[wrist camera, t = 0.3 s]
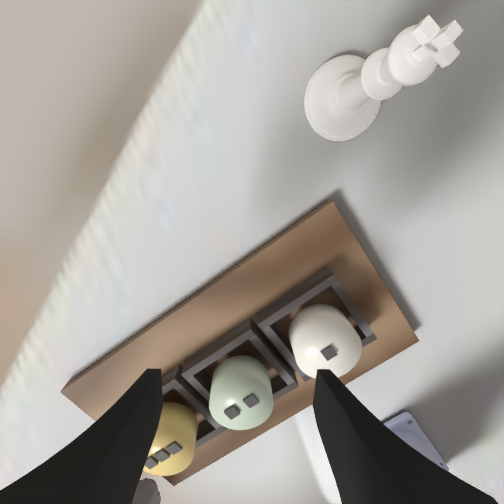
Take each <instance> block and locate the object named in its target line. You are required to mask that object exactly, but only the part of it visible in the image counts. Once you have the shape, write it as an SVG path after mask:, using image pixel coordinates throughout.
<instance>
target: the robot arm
mask: <svg viewBox="0 0 504 504" xmlns="http://www.w3.org/2000/svg"><path fill="white" fill-rule="evenodd" d="M162 408H163V392H162V376H161V369H149V368H147V369H146V370H145V371H144V372H143V373H142V375H141V376H140V377H139V378H138V379H137V380H136V381H135V382H134V383H133V385H132V386H131V387H130V388H129V389H128V390H127V391H126V392H125V393H124V394H123V395H122V396H121V397H120V398H119V399H118V400H117V401H116V402H115V403H114V404H113V405H112V406H111V407H110V408H109V409H108V410H107V411H106V412H105V413H104V414H103V415H102V416H101V417H100V418H99V419H98V420H97V421H96V422H95V423H93V424H92V425H91V426H90V427H89V428H88V429H87V430H86V431H84V432H83V433H82V434H81V435H80V436H78V437H77V438H76V439H75V440H74V441H72V442H71V443H70V444H68V445H67V446H66V447H64V448H63V449H62V450H60V451H59V452H58V453H56V454H55V455H53V456H52V457H51V458H49V459H48V460H47V461H45V462H44V463H42V464H41V465H39V466H38V467H37V468H35V469H34V470H32V471H31V472H29V473H28V474H26V475H24V476H23V477H21V478H20V479H18V480H17V481H15V482H13V483H12V484H10V485H9V486H7V487H5V488H4V489H2V490H0V504H132V501H133V498H134V495H135V491H136V488H137V485H138V482H139V479H140V477H141V474H142V471H143V468H144V466H145V463H146V460H147V457H148V454H149V452H150V449H151V446H152V443H153V440H154V438H155V435H156V432H157V429H158V425H159V421H160V417H161V412H162ZM313 408H314V413H315V418H316V422H317V427H318V430H319V433H320V436H321V439H322V442H323V445H324V448H325V451H326V454H327V457H328V460H329V463H330V466H331V469H332V472H333V475H334V477H335V480H336V484H337V487H338V490H339V494H340V497H341V501H342V504H498V503H497V502H496V500H495V499H494V498H493V497H491V496H489V495H488V494H486V493H484V492H482V491H480V490H479V489H477V488H475V487H473V486H471V485H470V484H468V483H466V482H464V481H463V480H461V479H459V478H458V477H456V476H454V475H453V474H451V473H450V472H448V470H449V468H448V466H447V465H446V463H445V462H444V461H443V459H442V458H441V456H440V455H439V453H438V452H437V451H436V449H435V448H434V446H433V445H432V444H431V442H430V441H429V439H428V438H427V436H426V435H425V434H424V432H423V431H422V429H421V428H420V426H419V425H418V424H417V422H416V421H415V419H414V418H413V417H412V415H411V414H410V413H409V412H403V413H401V414H400V415H398V416H396V417H394V418H392V419H391V420H389V421H387V422H385V423H382V422H381V421H380V420H378V419H377V418H376V417H375V416H374V415H373V414H372V413H371V412H370V411H369V410H368V409H367V408H366V407H365V406H364V405H363V404H362V403H361V402H360V401H359V400H358V399H357V398H356V397H355V396H354V395H353V394H352V393H351V392H350V391H349V390H348V388H347V387H346V386H345V385H344V384H343V383H342V382H341V381H340V380H339V379H338V377H337V376H336V375H335V374H334V373H333V372H332V371H331V370H330V369H317V374H316V382H315V390H314V398H313Z"/></svg>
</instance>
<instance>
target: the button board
mask: <svg viewBox="0 0 504 504" xmlns="http://www.w3.org/2000/svg"><path fill="white" fill-rule="evenodd" d="M315 304H328V305H331V306H334V307H336V308H338V309H339V310H340V311H341V312H342V313H343V314H344V315H345V317H346V318H347V319H348V321H349V322H350V324H351V325H352V326H353V328H354V329H355V331H356V332H357V333H358V335H359V337H360V339H361V343H362V352H361V356H360V359H359V360H358V362H357V364H356V365H355V366H354V367H353V368H352V369H351V370H350V371H349V372H347V373H346V374H344V375H342V376H340V377H338V379H339V380H340V381H341V382H342V383H343V384H344V385H346V384H347V383H349V382H351V381H352V380H354V379H356V378H357V377H359V376H361V375H363V374H364V373H366V372H368V371H369V370H371V369H373V368H374V367H376V366H378V365H379V364H381V363H383V362H385V361H386V360H388V359H390V358H391V357H393V356H395V355H396V354H398V353H400V352H401V351H403V350H405V349H407V348H408V347H410V346H412V345H413V344H415V343H417V342H418V341H419V339H418V338H417V336H416V335H415V333H414V331H413V330H412V328H411V326H410V325H409V323H408V322H407V320H406V318H405V317H404V315H403V314H402V312H401V310H400V309H399V307H398V305H397V304H396V302H395V301H394V299H393V297H392V296H391V294H390V293H389V291H388V289H387V288H386V286H385V284H384V283H383V281H382V280H381V278H380V276H379V275H378V273H377V272H376V270H375V268H374V267H373V265H372V263H371V262H370V260H369V259H368V257H367V255H366V254H365V252H364V251H363V249H362V247H361V246H360V244H359V242H358V241H357V239H356V238H355V236H354V234H353V233H352V231H351V230H350V228H349V226H348V225H347V223H346V221H345V220H344V218H343V217H342V215H341V213H340V212H339V210H338V209H337V207H336V205H335V204H334V202H333V201H330V200H328V201H326V202H325V203H323V204H322V205H320V206H319V207H318V208H316V209H315V210H313V211H312V212H310V213H309V214H308V215H306V216H305V217H303V218H302V219H301V220H299V221H298V222H296V223H295V224H293V225H292V226H291V227H289V228H288V229H286V230H285V231H283V232H282V233H281V234H279V235H278V236H276V237H275V238H273V239H272V240H271V241H269V242H268V243H266V244H265V245H263V246H262V247H261V248H259V249H258V250H256V251H255V252H253V253H252V254H251V255H249V256H248V257H246V258H245V259H243V260H242V261H241V262H239V263H238V264H236V265H235V266H233V267H232V268H231V269H229V270H228V271H226V272H225V273H223V274H222V275H221V276H219V277H218V278H216V279H215V280H213V281H212V282H211V283H209V284H208V285H206V286H205V287H203V288H202V289H201V290H199V291H198V292H196V293H195V294H193V295H192V296H191V297H189V298H188V299H186V300H185V301H183V302H182V303H181V304H179V305H178V306H176V307H175V308H173V309H172V310H171V311H169V312H168V313H166V314H165V315H163V316H162V317H161V318H159V319H158V320H156V321H155V322H153V323H152V324H151V325H149V326H148V327H146V328H145V329H143V330H142V331H141V332H139V333H138V334H136V335H135V336H133V337H132V338H131V339H129V340H128V341H126V342H125V343H123V344H122V345H121V346H119V347H118V348H116V349H115V350H113V351H112V352H111V353H109V354H108V355H106V356H105V357H104V358H102V359H101V360H99V361H98V362H96V363H95V364H94V365H92V366H91V367H89V368H88V369H86V370H85V371H84V372H82V373H81V374H79V375H78V376H76V377H75V378H74V379H72V380H71V381H69V382H68V383H67V384H66V385H65V387H64V388H63V389H62V390H61V393H62V394H63V395H65V396H66V397H67V398H68V399H69V400H71V401H72V402H73V403H74V404H75V405H77V406H78V407H79V408H80V409H81V410H83V411H84V412H85V413H86V414H88V415H89V416H90V417H91V418H92V419H94V420H95V421H97V420H98V419H99V418H100V417H101V416H102V415H103V414H104V413H105V412H106V411H107V410H108V409H109V408H110V407H111V406H112V405H113V404H114V403H115V402H116V401H117V400H118V399H119V398H120V397H121V396H122V395H123V394H124V393H125V392H126V391H127V390H128V389H129V388H130V387H131V386H132V385H133V383H134V382H135V381H136V380H137V379H138V378H139V377H140V376H141V375H142V373H143V372H144V371H145V370H146V369H147V368H149V369H161V376H162V392H163V403H166V402H173V403H179V404H182V405H184V406H186V407H188V408H189V409H191V410H192V411H193V412H194V414H195V415H196V417H197V420H198V430H197V437H196V443H195V450H194V456H193V460H192V462H191V464H190V465H189V466H188V467H187V468H186V469H185V470H183V471H182V472H180V473H177V474H174V475H170V476H162V477H164V478H165V479H166V480H168V481H169V482H170V483H171V484H172V485H173V486H175V485H176V484H178V483H180V482H181V481H183V480H185V479H186V478H188V477H190V476H191V475H193V474H195V473H197V472H198V471H200V470H202V469H203V468H205V467H207V466H208V465H210V464H212V463H214V462H215V461H217V460H219V459H220V458H222V457H224V456H225V455H227V454H229V453H230V452H232V451H234V450H236V449H237V448H239V447H241V446H242V445H244V444H246V443H247V442H249V441H251V440H252V439H254V438H256V437H257V436H259V435H261V434H263V433H264V432H266V431H268V430H269V429H271V428H273V427H274V426H276V425H278V424H280V423H281V422H283V421H285V420H286V419H288V418H290V417H291V416H293V415H295V414H297V413H298V412H300V411H302V410H303V409H305V408H307V407H308V406H310V405H312V404H313V398H314V390H315V382H316V379H315V378H312V377H310V376H308V375H306V374H305V373H304V372H302V371H301V370H300V368H299V367H298V365H297V363H296V360H295V356H294V353H293V350H292V346H291V343H290V339H289V326H290V323H291V321H292V319H293V318H294V317H295V315H296V314H297V313H298V312H300V311H301V310H302V309H304V308H306V307H308V306H311V305H315ZM238 355H246V356H251V357H254V358H256V359H258V360H260V361H261V362H262V363H263V364H264V365H265V366H266V367H267V369H268V371H269V375H270V381H271V388H272V395H273V401H274V406H273V410H272V413H271V415H270V416H269V418H268V419H267V420H266V421H265V422H263V423H262V424H261V425H259V426H257V427H254V428H251V429H247V430H233V429H229V428H226V427H224V426H222V425H220V424H219V423H218V422H216V421H215V419H214V418H213V417H212V415H211V413H210V410H209V401H210V392H211V384H212V376H213V373H214V370H215V369H216V367H217V366H218V365H219V364H220V363H221V362H222V361H224V360H225V359H227V358H230V357H233V356H238Z"/></svg>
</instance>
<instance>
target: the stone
mask: <svg viewBox="0 0 504 504" xmlns="http://www.w3.org/2000/svg"><path fill="white" fill-rule="evenodd" d="M160 500H161V498H160V493H159V491H158V488H157V484H156V482H155V481H154V480H152V479H147V478H145V479H144V480H139V482H138V485H137V488H136V491H135V495H134V498H133V501H132V504H160Z"/></svg>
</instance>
